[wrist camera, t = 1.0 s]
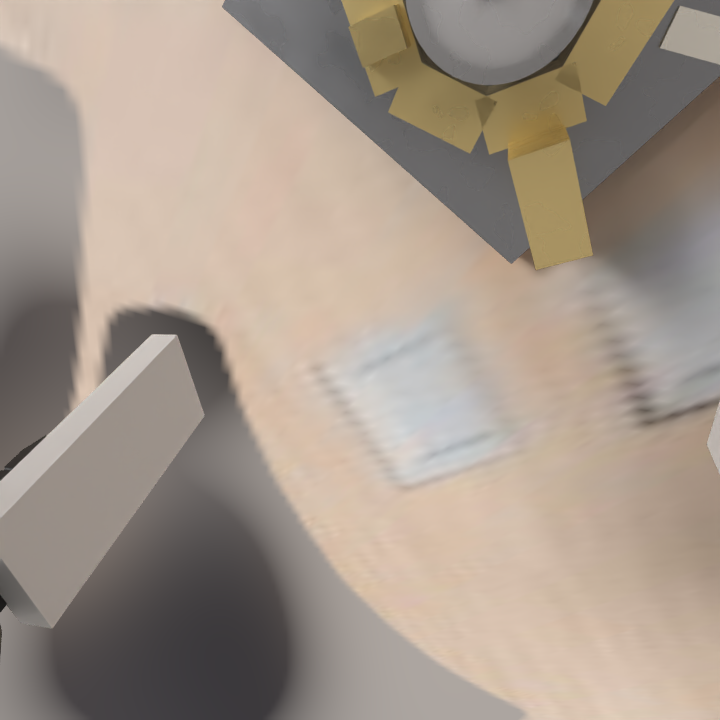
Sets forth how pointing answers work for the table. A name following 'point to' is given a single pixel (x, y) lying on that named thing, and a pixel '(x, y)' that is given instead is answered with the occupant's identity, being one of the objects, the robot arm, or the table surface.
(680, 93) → the flange plate
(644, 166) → the table surface
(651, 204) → the table surface
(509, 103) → the tan handled ring
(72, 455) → the robot arm
